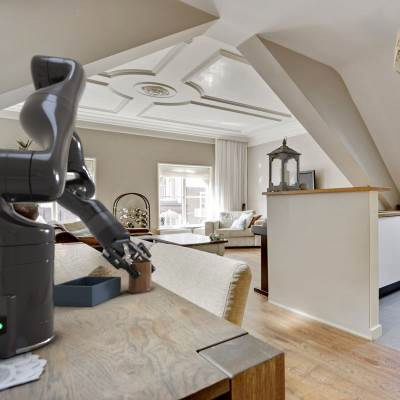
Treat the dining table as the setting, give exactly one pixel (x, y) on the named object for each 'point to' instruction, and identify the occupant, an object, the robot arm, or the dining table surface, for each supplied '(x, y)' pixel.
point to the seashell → (102, 272)
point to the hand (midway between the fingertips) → (145, 274)
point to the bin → (86, 291)
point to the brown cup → (141, 277)
